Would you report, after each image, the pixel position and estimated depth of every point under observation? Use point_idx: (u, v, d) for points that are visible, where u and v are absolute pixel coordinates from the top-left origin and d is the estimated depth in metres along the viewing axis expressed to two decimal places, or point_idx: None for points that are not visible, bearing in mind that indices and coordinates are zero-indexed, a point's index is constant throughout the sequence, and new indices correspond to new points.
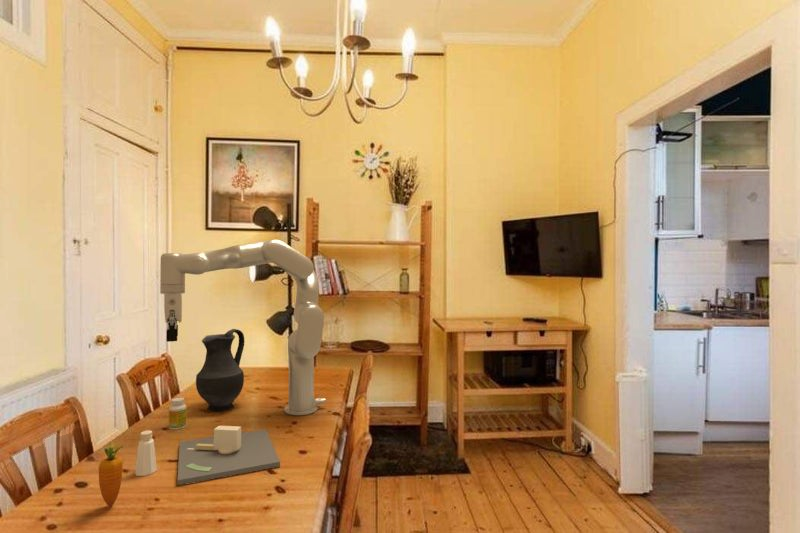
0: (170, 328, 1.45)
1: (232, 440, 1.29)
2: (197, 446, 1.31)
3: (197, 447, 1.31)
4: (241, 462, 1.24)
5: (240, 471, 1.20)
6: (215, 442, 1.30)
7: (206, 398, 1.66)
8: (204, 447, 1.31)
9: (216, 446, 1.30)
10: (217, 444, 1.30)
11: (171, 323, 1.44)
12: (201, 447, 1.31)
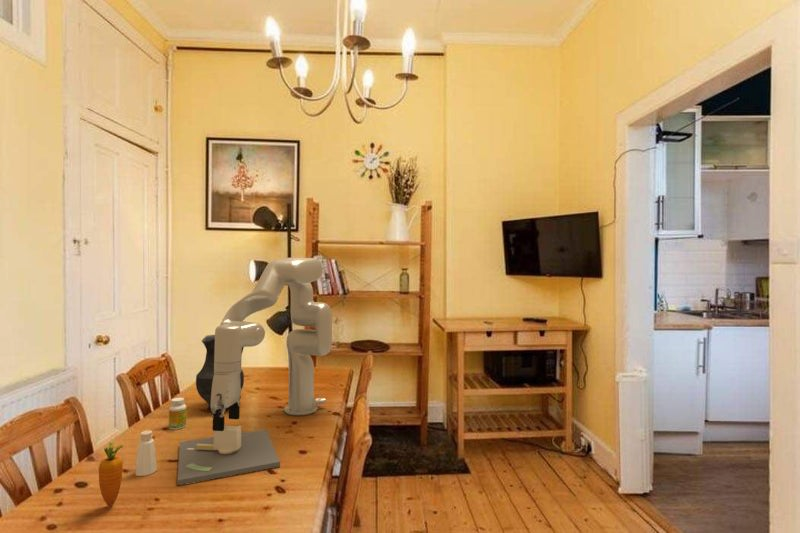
0: None
1: (232, 440, 1.29)
2: (197, 446, 1.31)
3: (197, 447, 1.31)
4: (241, 462, 1.24)
5: (240, 471, 1.20)
6: (215, 442, 1.30)
7: (206, 398, 1.66)
8: (204, 447, 1.31)
9: (216, 446, 1.30)
10: (217, 444, 1.30)
11: None
12: (201, 447, 1.31)
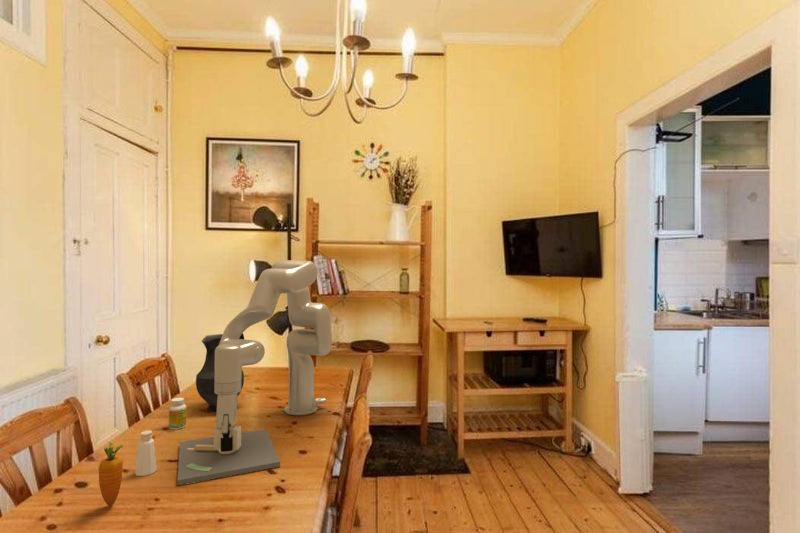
0: None
1: (233, 440, 1.29)
2: (196, 447, 1.30)
3: (196, 448, 1.30)
4: (241, 462, 1.24)
5: (240, 471, 1.20)
6: (215, 442, 1.29)
7: (206, 398, 1.66)
8: (203, 448, 1.30)
9: (216, 446, 1.29)
10: (217, 444, 1.29)
11: None
12: (200, 448, 1.30)
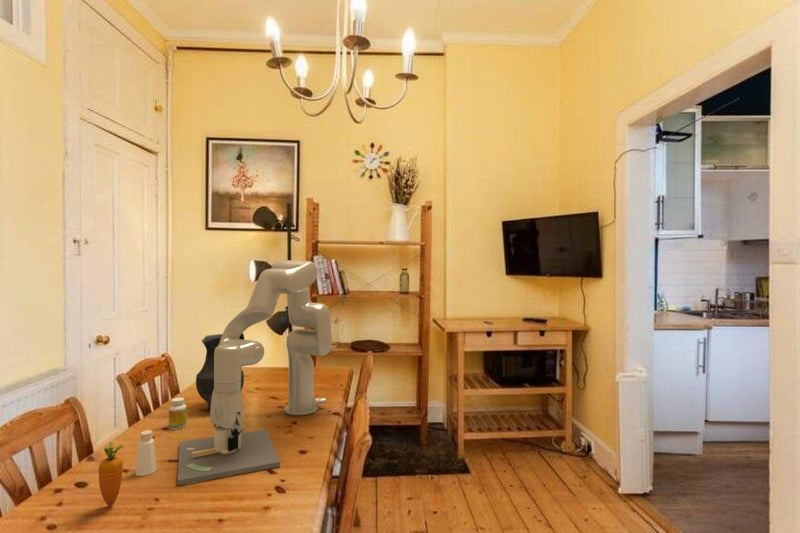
0: None
1: None
2: (194, 454, 1.26)
3: (194, 455, 1.26)
4: (241, 462, 1.24)
5: (240, 471, 1.20)
6: (217, 444, 1.28)
7: (206, 398, 1.66)
8: (202, 453, 1.27)
9: (218, 448, 1.28)
10: (219, 446, 1.28)
11: None
12: (199, 454, 1.26)
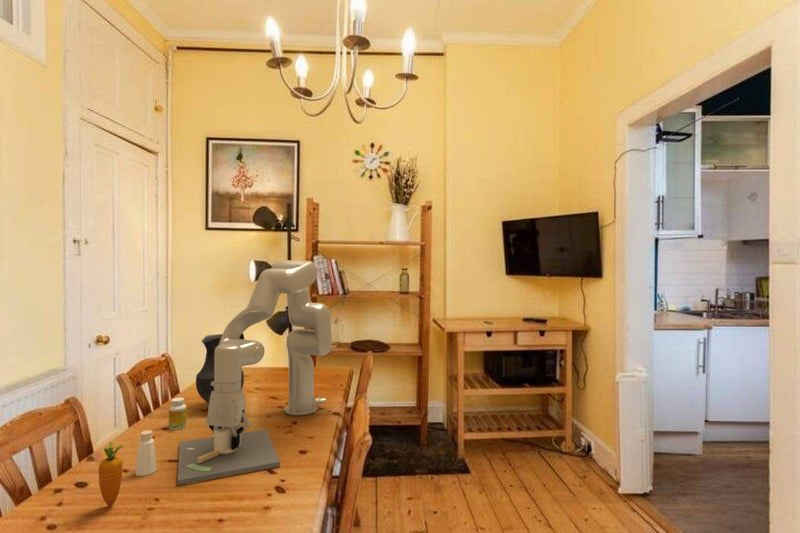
0: None
1: None
2: (201, 459, 1.23)
3: (201, 460, 1.23)
4: (241, 462, 1.24)
5: (240, 471, 1.20)
6: (222, 445, 1.28)
7: (206, 398, 1.66)
8: (208, 456, 1.25)
9: (223, 449, 1.28)
10: (224, 446, 1.28)
11: None
12: (205, 458, 1.24)
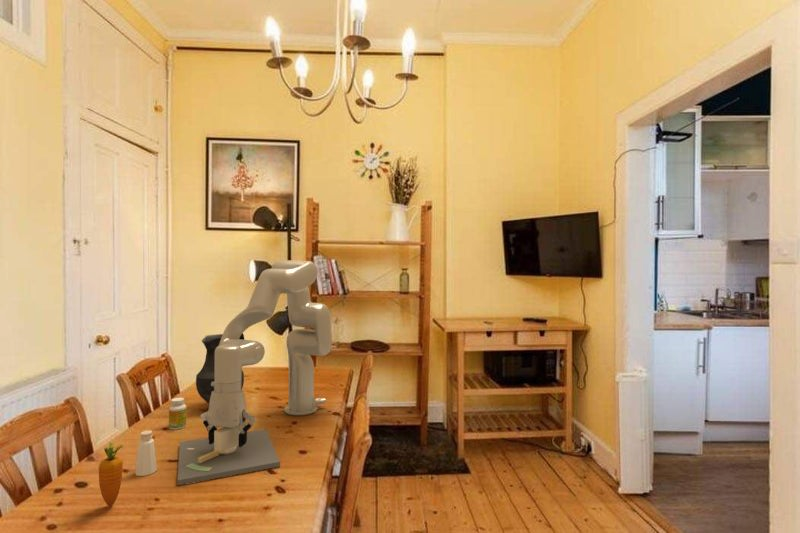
0: None
1: (237, 436, 1.32)
2: (202, 459, 1.23)
3: (202, 460, 1.23)
4: (241, 462, 1.24)
5: (240, 471, 1.20)
6: (222, 445, 1.27)
7: (206, 398, 1.66)
8: (209, 457, 1.25)
9: (223, 449, 1.28)
10: (224, 446, 1.28)
11: None
12: (206, 458, 1.24)
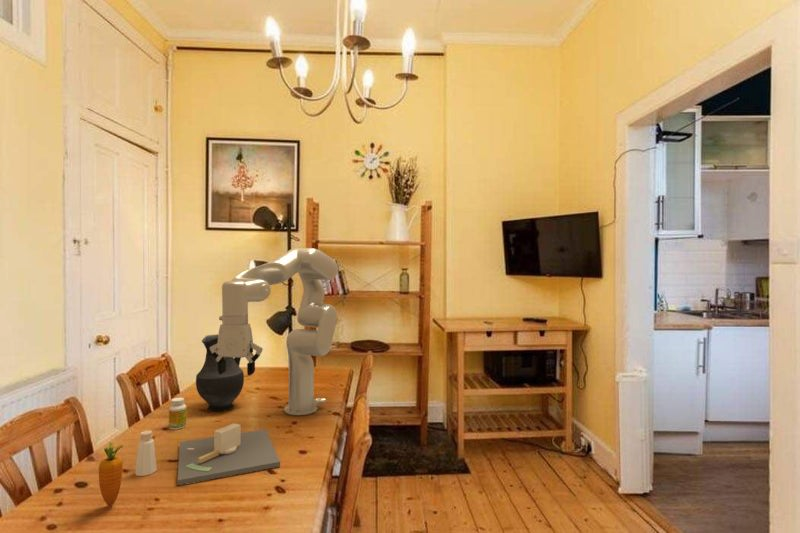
0: None
1: (237, 436, 1.32)
2: (202, 459, 1.23)
3: (202, 460, 1.23)
4: (241, 462, 1.24)
5: (240, 471, 1.20)
6: (222, 445, 1.27)
7: (206, 398, 1.66)
8: (209, 457, 1.25)
9: (223, 449, 1.28)
10: (224, 446, 1.28)
11: None
12: (206, 458, 1.24)
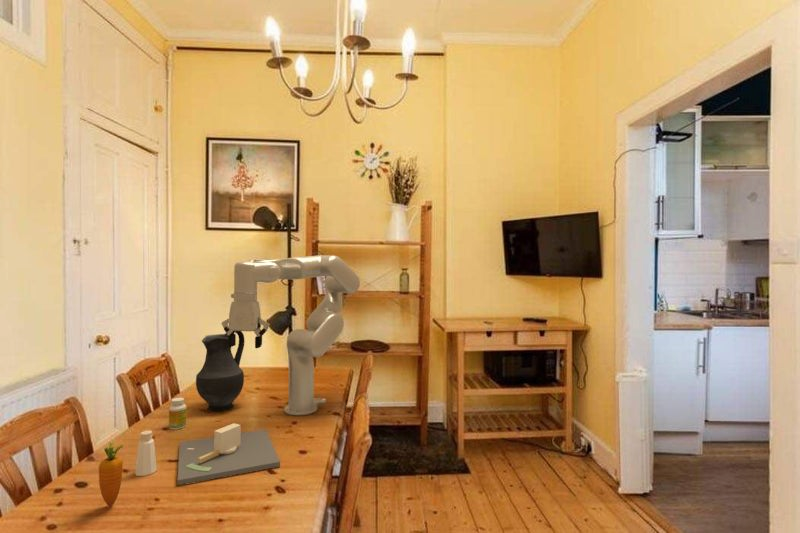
0: None
1: (237, 436, 1.32)
2: (202, 459, 1.23)
3: (202, 460, 1.23)
4: (241, 462, 1.24)
5: (240, 471, 1.20)
6: (222, 445, 1.27)
7: (206, 398, 1.66)
8: (209, 457, 1.25)
9: (223, 449, 1.28)
10: (224, 446, 1.28)
11: None
12: (206, 458, 1.24)
